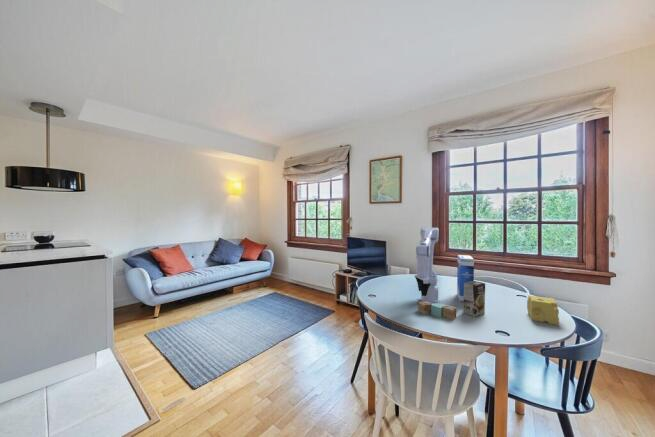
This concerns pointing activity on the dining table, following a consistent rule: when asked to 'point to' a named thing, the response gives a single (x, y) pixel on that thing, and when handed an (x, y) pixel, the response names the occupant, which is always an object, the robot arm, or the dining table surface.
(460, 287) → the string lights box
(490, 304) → the dining table surface
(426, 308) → the digit block one
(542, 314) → the cheese
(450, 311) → the digit block seven
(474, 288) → the coffee box
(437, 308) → the plain block
